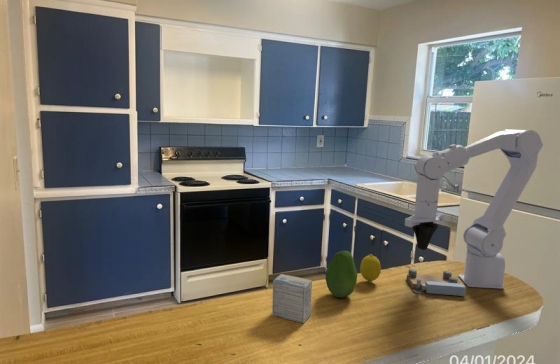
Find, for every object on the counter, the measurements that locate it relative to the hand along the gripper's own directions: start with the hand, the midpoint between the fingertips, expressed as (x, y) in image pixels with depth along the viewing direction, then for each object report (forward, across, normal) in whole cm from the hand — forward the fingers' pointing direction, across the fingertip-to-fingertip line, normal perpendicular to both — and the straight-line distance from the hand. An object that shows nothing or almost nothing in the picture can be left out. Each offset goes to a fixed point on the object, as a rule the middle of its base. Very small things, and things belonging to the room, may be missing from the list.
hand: (422, 248), depth 111 cm
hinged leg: (+10, -1, -8) cm, 12 cm away
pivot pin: (+10, -5, -4) cm, 12 cm away
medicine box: (+10, -42, +3) cm, 43 cm away
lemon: (+10, -12, +8) cm, 17 cm away
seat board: (+10, +2, -3) cm, 10 cm away
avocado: (+10, -25, +5) cm, 28 cm away
